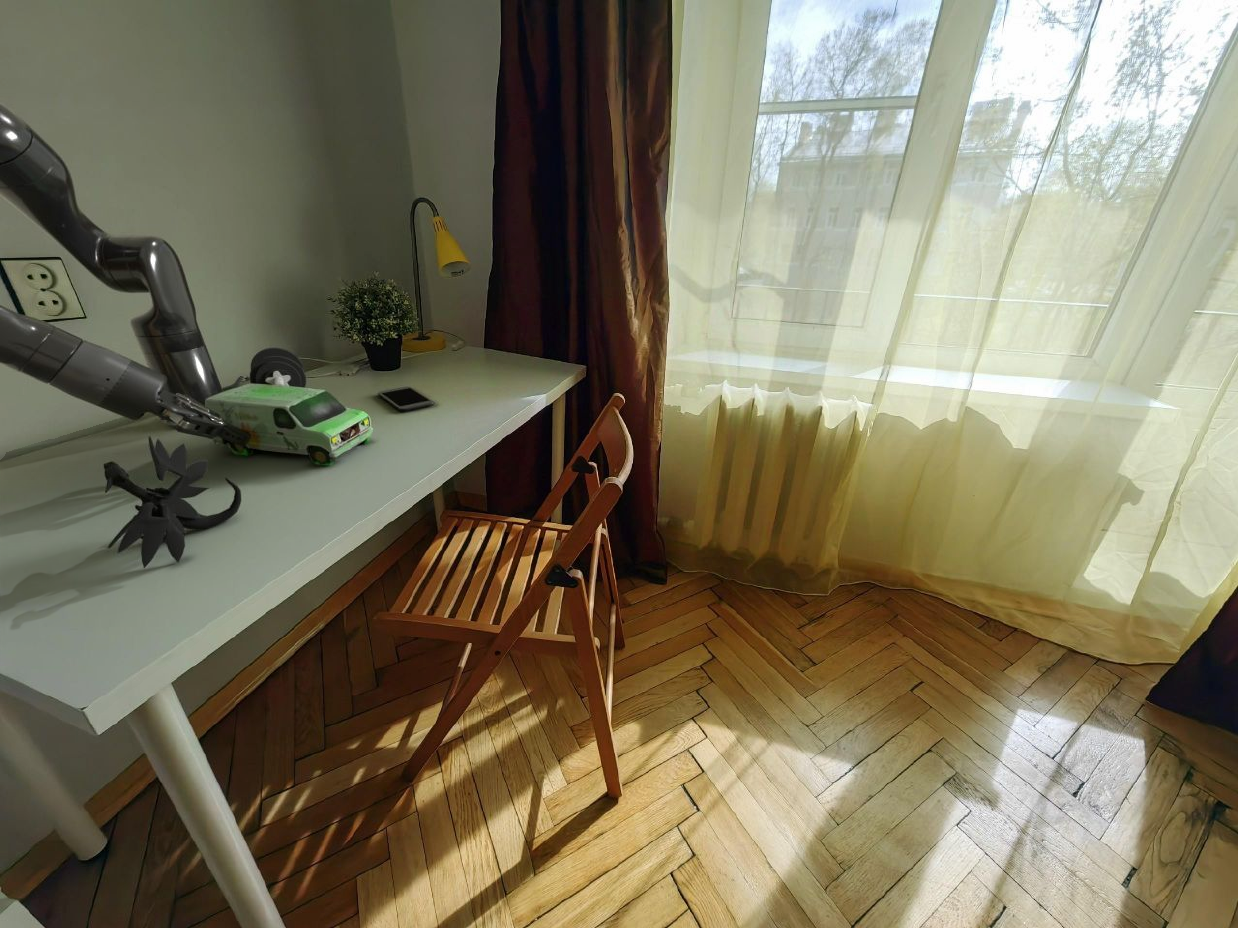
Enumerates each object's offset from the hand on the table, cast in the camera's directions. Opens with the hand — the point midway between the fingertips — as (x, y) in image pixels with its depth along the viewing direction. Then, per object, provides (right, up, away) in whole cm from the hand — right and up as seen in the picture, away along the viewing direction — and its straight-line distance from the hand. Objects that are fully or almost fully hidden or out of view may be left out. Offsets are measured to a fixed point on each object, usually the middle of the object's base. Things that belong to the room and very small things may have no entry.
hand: (247, 440), depth 80 cm
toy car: (+4, -1, +7) cm, 8 cm away
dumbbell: (-15, +11, +31) cm, 36 cm away
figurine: (+7, -14, -19) cm, 25 cm away
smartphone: (+13, +10, +28) cm, 33 cm away
